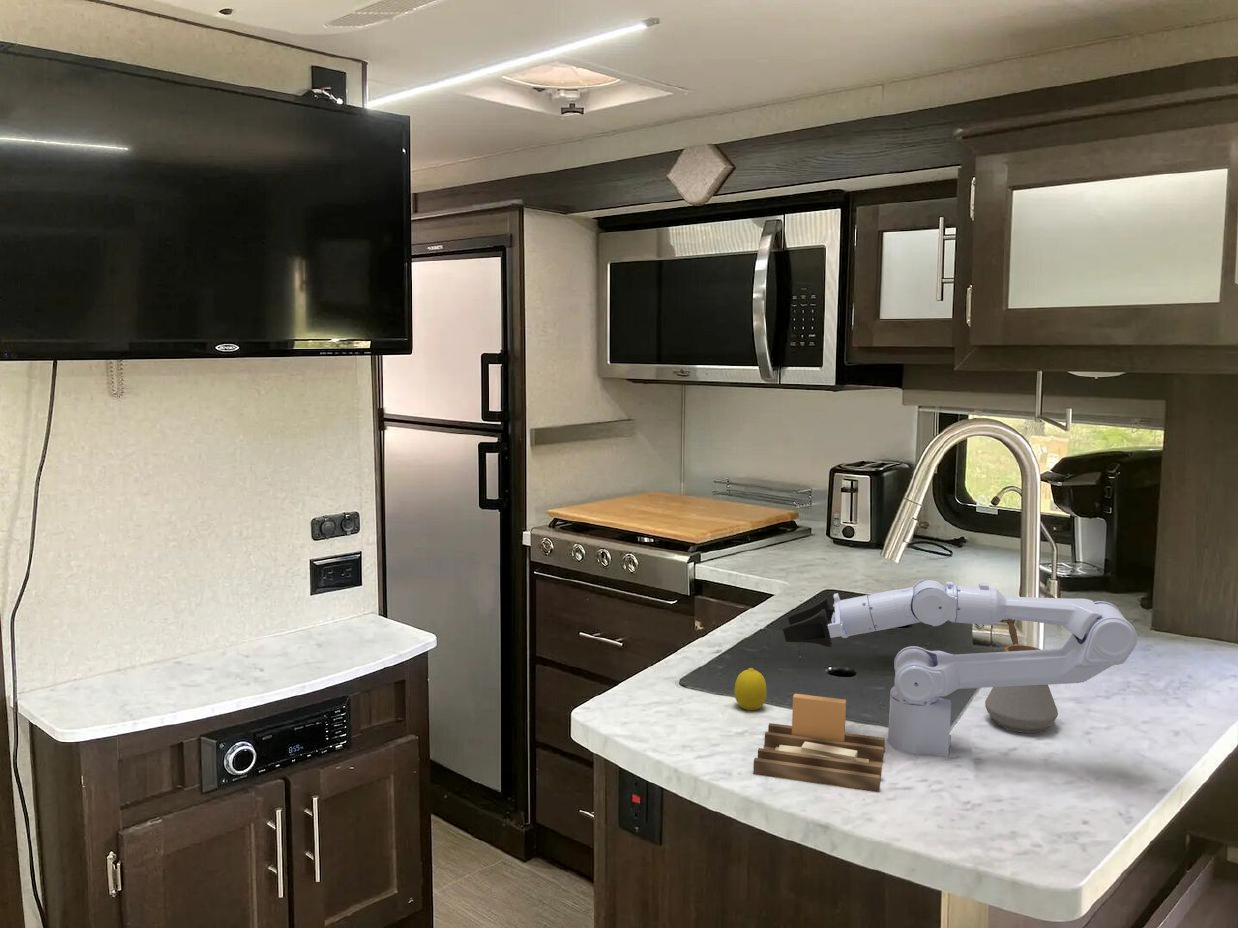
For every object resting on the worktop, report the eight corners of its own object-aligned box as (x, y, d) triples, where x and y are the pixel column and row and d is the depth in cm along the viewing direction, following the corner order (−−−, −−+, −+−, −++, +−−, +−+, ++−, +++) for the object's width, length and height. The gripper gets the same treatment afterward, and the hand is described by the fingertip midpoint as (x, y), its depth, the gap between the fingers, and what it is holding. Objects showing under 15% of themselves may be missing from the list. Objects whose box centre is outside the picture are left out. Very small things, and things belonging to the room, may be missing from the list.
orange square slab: (844, 748, 154) (846, 699, 153) (843, 752, 153) (845, 703, 152) (792, 741, 157) (794, 693, 155) (791, 745, 155) (793, 697, 154)
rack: (884, 752, 155) (885, 734, 155) (878, 798, 140) (879, 778, 140) (770, 737, 160) (770, 720, 160) (752, 780, 145) (753, 760, 145)
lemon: (744, 703, 175) (746, 660, 174) (772, 711, 171) (773, 667, 170) (727, 713, 171) (728, 668, 169) (755, 721, 167) (756, 676, 166)
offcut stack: (868, 762, 149) (869, 749, 149) (867, 772, 146) (867, 759, 146) (776, 750, 153) (776, 737, 153) (772, 759, 150) (773, 746, 150)
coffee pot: (1064, 740, 160) (1070, 651, 158) (989, 734, 163) (995, 646, 161) (1036, 693, 181) (1042, 614, 179) (970, 688, 183) (975, 610, 181)
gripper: (866, 579, 162) (785, 595, 166) (864, 598, 148) (775, 615, 152) (877, 620, 162) (796, 635, 166) (875, 643, 148) (786, 659, 152)
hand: (787, 628), depth 159 cm, fingers open, 7 cm apart
